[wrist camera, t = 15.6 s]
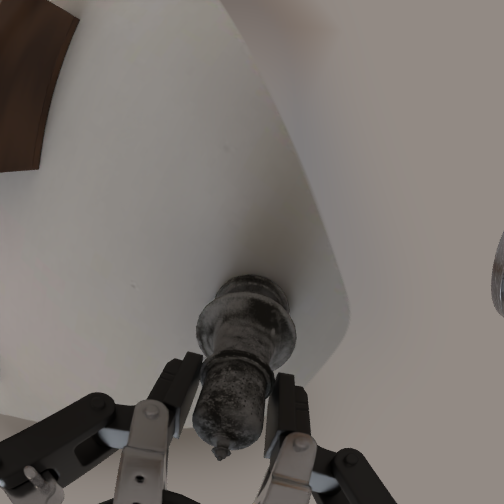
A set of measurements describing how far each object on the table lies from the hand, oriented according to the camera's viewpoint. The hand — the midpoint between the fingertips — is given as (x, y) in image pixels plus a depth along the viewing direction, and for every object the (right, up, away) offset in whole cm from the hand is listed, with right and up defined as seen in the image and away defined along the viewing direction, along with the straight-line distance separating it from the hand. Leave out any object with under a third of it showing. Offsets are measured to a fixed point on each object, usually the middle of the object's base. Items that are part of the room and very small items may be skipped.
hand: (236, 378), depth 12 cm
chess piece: (+1, +2, +7) cm, 7 cm away
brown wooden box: (-23, +22, +4) cm, 32 cm away
